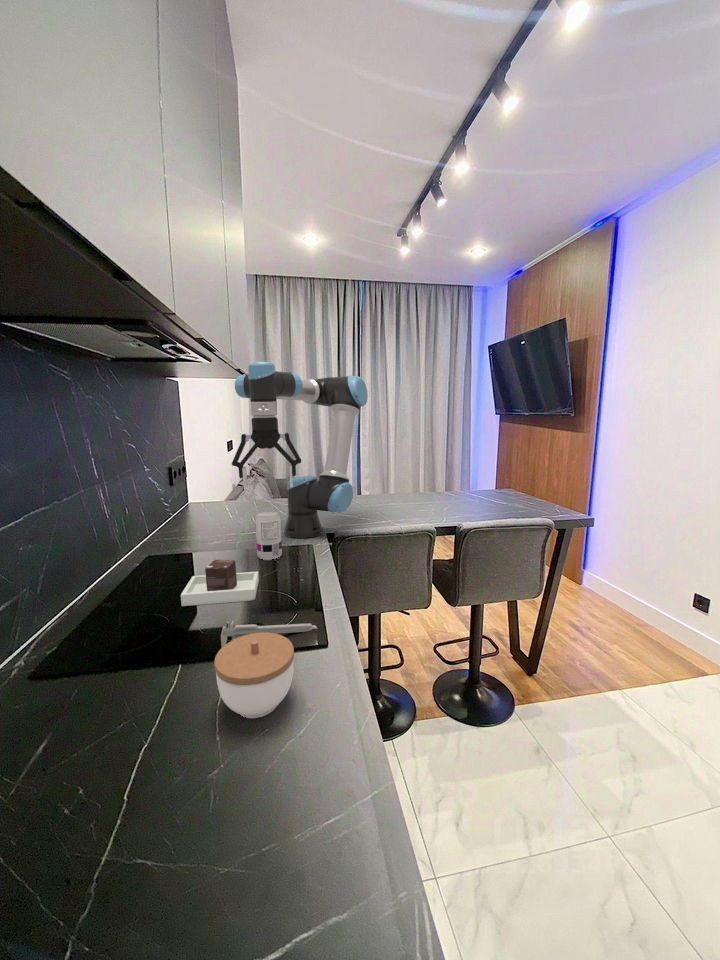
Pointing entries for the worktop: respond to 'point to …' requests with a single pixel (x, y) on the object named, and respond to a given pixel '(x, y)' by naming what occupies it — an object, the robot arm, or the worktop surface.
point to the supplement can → (268, 535)
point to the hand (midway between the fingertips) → (268, 487)
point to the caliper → (260, 630)
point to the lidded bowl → (255, 673)
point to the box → (221, 575)
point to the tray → (241, 592)
